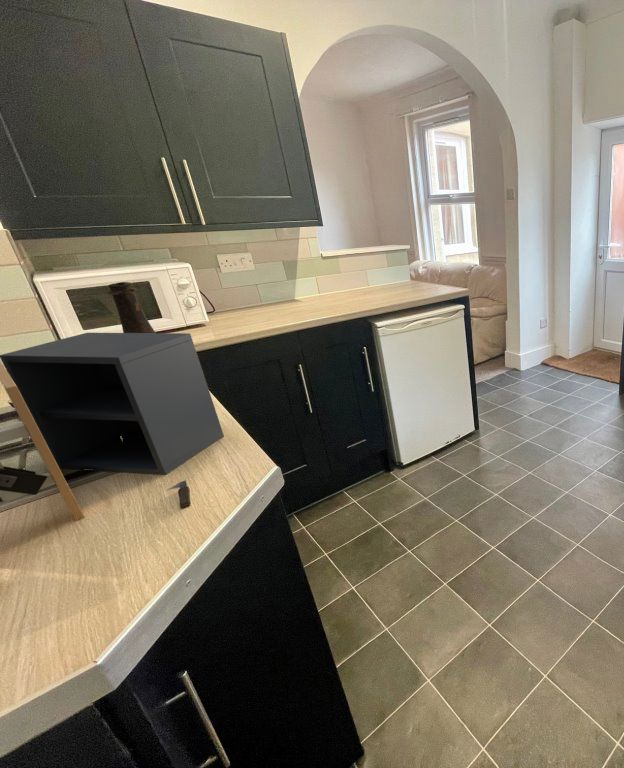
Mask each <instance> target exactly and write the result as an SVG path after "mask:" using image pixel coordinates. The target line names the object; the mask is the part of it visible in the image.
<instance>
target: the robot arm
mask: <svg viewBox="0 0 624 768" xmlns="http://www.w3.org/2000/svg"><path fill="white" fill-rule="evenodd" d="M2 466H3V468H4V469H2V468H0V490H1V491H9V492H17V493H24V494H27V495H32V496H33V495H35V496H37V495H38V493H39V491H41V490H40V488H41V486H42V485H43V483H44V482H45V480H46V478H47V476H44V475H42V474H37V472H36V471H34V470H28V469H22V468H17V467H10V466H4V465H2Z"/></svg>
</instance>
